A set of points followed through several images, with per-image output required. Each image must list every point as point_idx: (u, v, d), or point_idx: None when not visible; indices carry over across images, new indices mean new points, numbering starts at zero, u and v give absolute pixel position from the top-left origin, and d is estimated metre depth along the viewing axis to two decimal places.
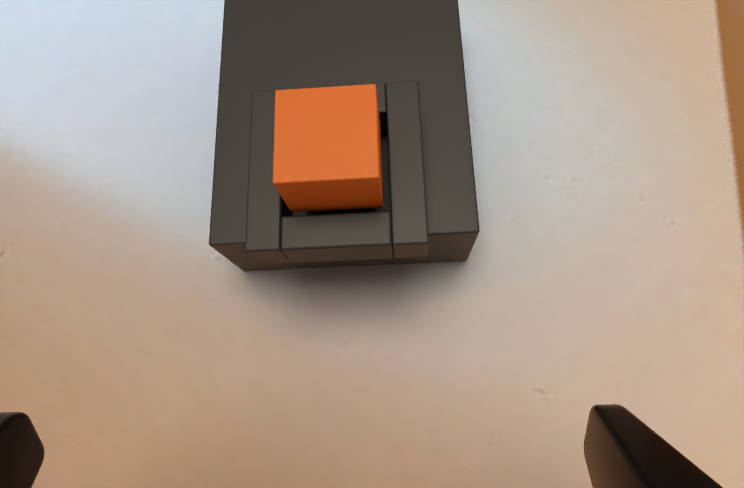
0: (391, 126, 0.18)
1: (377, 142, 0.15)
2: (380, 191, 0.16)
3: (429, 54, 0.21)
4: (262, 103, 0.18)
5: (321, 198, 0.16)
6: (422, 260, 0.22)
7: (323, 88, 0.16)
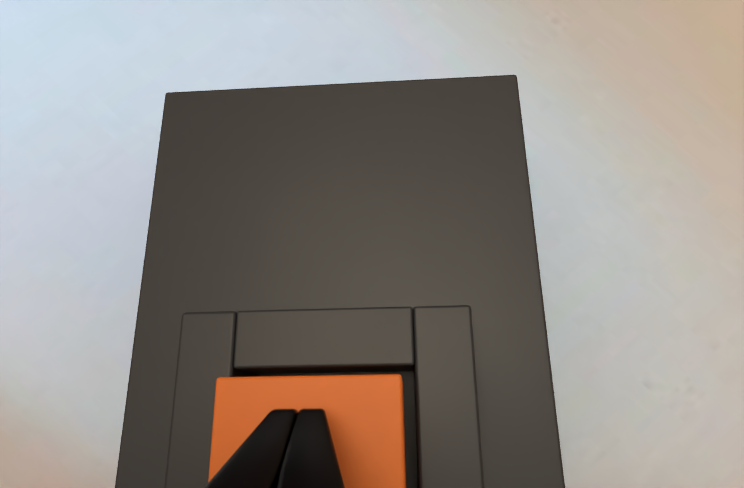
0: (423, 396, 0.10)
1: None
2: None
3: (480, 224, 0.13)
4: (197, 337, 0.11)
5: None
6: None
7: (304, 381, 0.09)
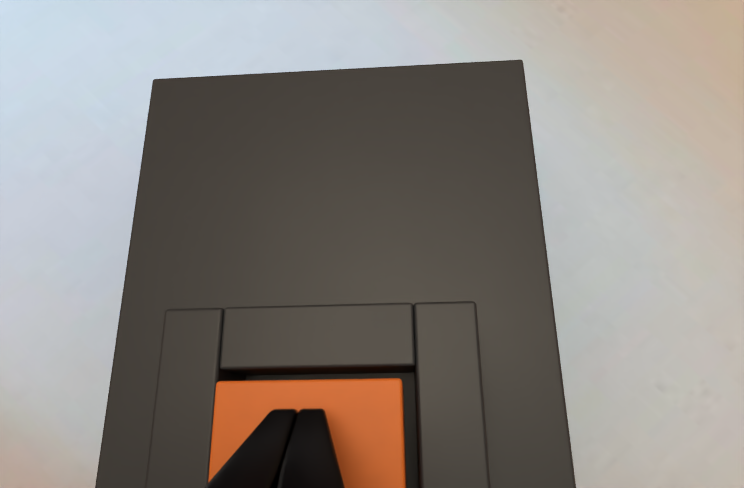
0: (425, 399, 0.09)
1: None
2: None
3: (484, 216, 0.12)
4: (181, 335, 0.10)
5: None
6: None
7: (304, 386, 0.09)
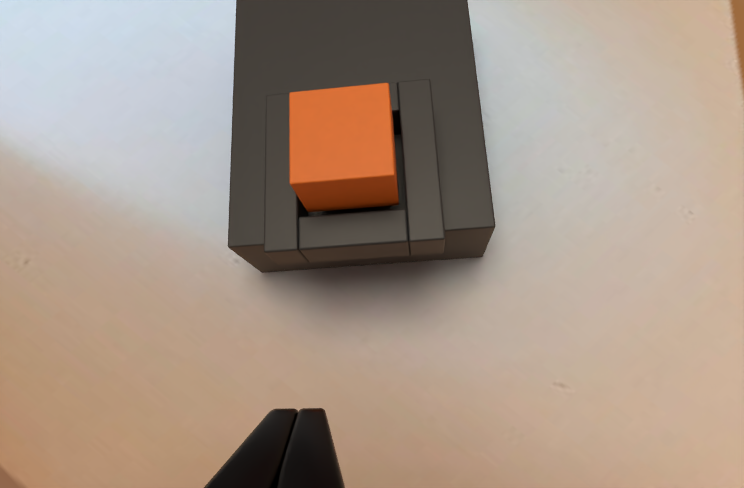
0: (404, 124, 0.18)
1: (391, 140, 0.15)
2: (395, 189, 0.16)
3: (440, 52, 0.21)
4: (276, 106, 0.19)
5: (337, 197, 0.17)
6: (438, 257, 0.22)
7: (336, 89, 0.16)
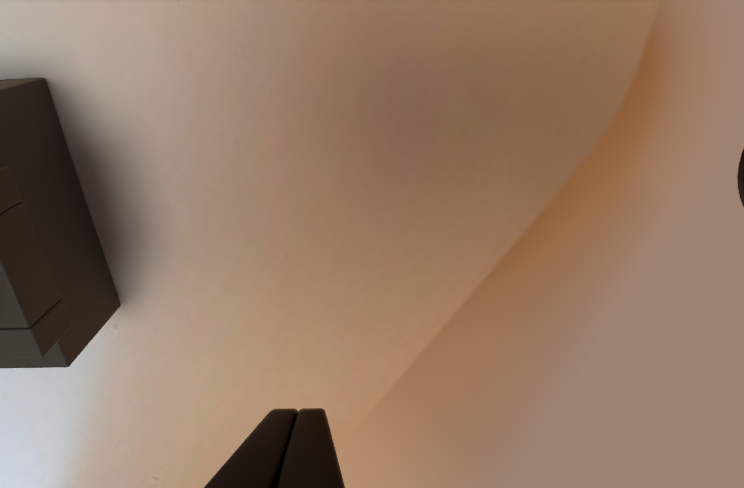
0: None
1: None
2: None
3: None
4: None
5: None
6: (55, 133, 0.19)
7: None
